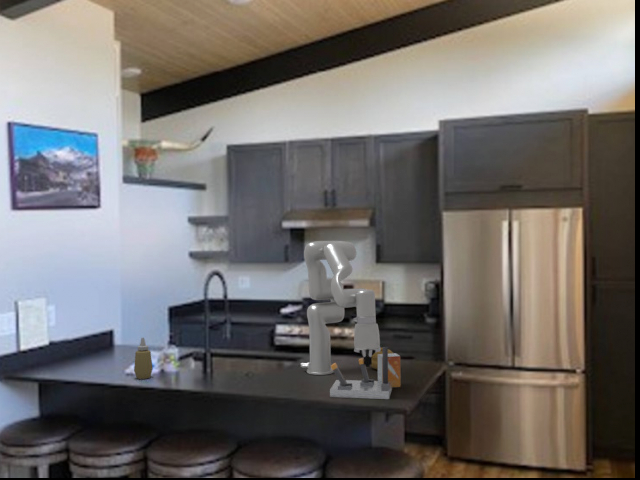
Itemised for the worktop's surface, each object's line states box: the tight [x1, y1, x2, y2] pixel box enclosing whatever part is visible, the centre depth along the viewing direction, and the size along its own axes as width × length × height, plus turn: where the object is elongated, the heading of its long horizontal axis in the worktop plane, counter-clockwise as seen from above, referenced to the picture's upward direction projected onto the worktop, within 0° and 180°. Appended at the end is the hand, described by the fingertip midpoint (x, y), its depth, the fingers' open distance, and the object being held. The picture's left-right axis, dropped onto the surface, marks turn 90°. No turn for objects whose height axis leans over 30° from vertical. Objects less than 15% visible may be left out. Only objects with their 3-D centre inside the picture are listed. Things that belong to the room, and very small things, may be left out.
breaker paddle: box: [358, 357, 370, 382], centre depth 265 cm, size 2×3×9 cm, turn 169°
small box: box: [377, 352, 402, 388], centre depth 273 cm, size 8×6×13 cm
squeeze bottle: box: [133, 337, 153, 380], centre depth 294 cm, size 8×8×18 cm
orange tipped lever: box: [331, 362, 347, 386], centre depth 259 cm, size 2×3×9 cm, turn 169°
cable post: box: [381, 346, 390, 390], centre depth 255 cm, size 3×3×16 cm
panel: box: [329, 378, 393, 400], centre depth 262 cm, size 23×16×4 cm
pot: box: [370, 346, 394, 371], centre depth 305 cm, size 12×12×10 cm
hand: (367, 366), depth 263 cm, fingers closed
